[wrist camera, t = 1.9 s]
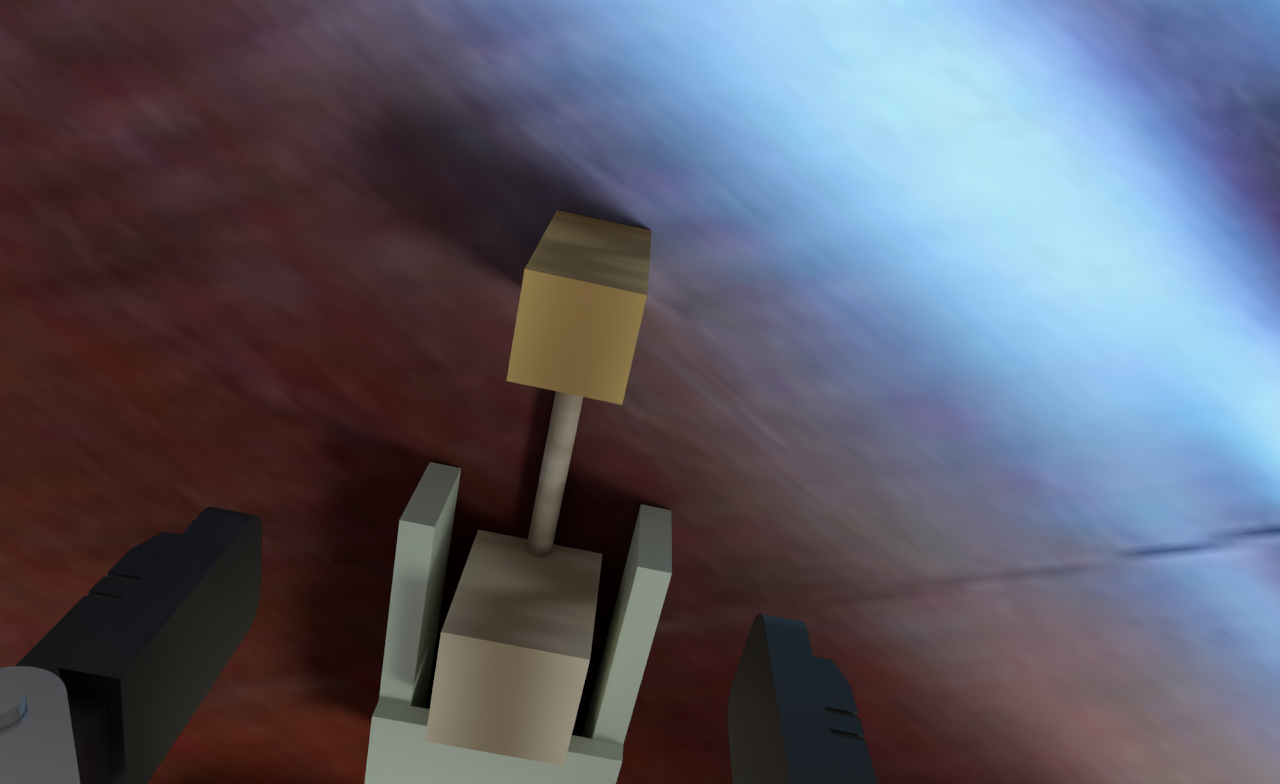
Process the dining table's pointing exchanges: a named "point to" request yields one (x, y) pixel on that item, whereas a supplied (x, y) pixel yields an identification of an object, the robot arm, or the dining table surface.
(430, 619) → the u-shaped sage bracket
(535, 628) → the tethered block
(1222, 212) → the dining table surface
